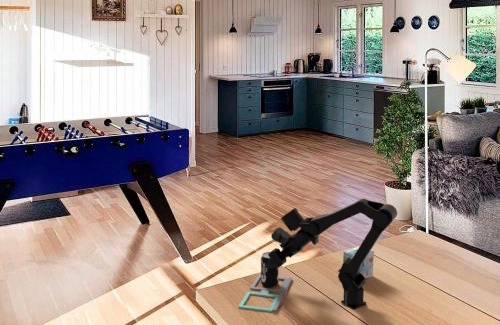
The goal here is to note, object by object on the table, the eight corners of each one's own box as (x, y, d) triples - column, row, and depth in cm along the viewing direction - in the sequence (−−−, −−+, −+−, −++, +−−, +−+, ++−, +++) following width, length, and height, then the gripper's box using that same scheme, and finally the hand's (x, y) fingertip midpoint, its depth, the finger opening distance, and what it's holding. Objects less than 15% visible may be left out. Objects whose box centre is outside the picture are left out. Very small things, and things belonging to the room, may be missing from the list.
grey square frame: (258, 276, 217) (258, 274, 217) (288, 279, 214) (288, 278, 213) (250, 289, 205) (250, 287, 205) (281, 293, 202) (281, 291, 202)
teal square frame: (247, 292, 203) (247, 291, 202) (279, 296, 199) (279, 295, 199) (238, 307, 191) (238, 306, 191) (272, 312, 188) (272, 310, 188)
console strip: (269, 277, 215) (269, 275, 215) (292, 280, 213) (292, 277, 213) (250, 309, 190) (250, 306, 190) (276, 312, 188) (276, 310, 188)
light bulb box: (354, 283, 210) (355, 256, 208) (341, 277, 216) (342, 251, 213) (373, 276, 217) (374, 250, 214) (360, 270, 222) (361, 245, 219)
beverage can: (276, 288, 206) (277, 258, 203) (259, 287, 207) (259, 257, 204) (279, 281, 212) (279, 252, 209) (262, 280, 213) (262, 250, 211)
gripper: (295, 215, 209) (269, 238, 217) (273, 230, 193) (246, 254, 201) (314, 239, 207) (287, 261, 215) (293, 256, 191) (265, 278, 199)
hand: (271, 263), depth 207 cm, fingers open, 9 cm apart
